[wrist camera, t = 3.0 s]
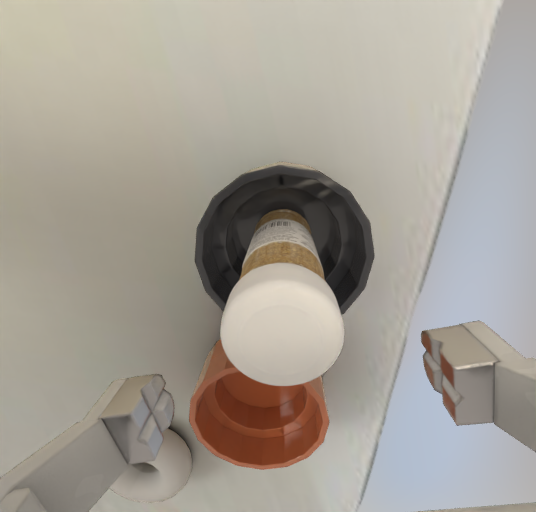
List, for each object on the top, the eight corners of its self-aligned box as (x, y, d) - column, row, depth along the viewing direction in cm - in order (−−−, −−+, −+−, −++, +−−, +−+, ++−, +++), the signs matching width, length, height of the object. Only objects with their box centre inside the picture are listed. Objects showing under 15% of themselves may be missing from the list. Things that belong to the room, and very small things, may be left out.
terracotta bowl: (191, 334, 27) (169, 378, 22) (307, 313, 25) (313, 354, 20) (225, 420, 30) (213, 475, 25) (329, 405, 29) (338, 461, 24)
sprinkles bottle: (256, 263, 24) (224, 392, 11) (252, 208, 22) (208, 285, 9) (312, 261, 23) (345, 391, 11) (311, 205, 22) (350, 281, 9)
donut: (200, 422, 31) (107, 407, 31) (191, 454, 28) (87, 437, 27) (192, 482, 34) (108, 469, 34) (183, 516, 31) (91, 502, 31)
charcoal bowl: (197, 182, 22) (170, 192, 17) (341, 145, 20) (359, 143, 15) (236, 306, 25) (224, 345, 20) (361, 281, 24) (382, 317, 19)
